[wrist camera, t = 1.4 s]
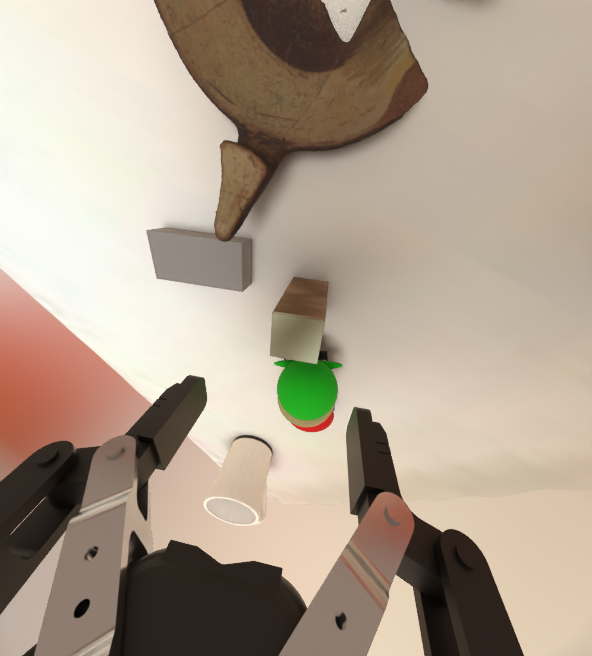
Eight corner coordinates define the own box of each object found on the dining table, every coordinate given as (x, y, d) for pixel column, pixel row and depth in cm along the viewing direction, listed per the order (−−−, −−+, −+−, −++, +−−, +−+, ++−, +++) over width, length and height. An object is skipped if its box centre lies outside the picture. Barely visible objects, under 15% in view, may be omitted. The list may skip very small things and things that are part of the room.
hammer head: (251, 239, 24) (241, 242, 21) (251, 283, 26) (242, 291, 24) (166, 227, 25) (146, 230, 22) (173, 271, 27) (156, 278, 25)
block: (328, 282, 25) (324, 321, 16) (322, 313, 27) (317, 364, 18) (293, 277, 25) (272, 313, 17) (290, 308, 27) (270, 355, 18)
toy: (340, 385, 36) (343, 345, 24) (340, 439, 32) (345, 424, 20) (290, 383, 38) (267, 344, 25) (284, 434, 34) (254, 417, 21)
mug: (222, 443, 43) (193, 504, 35) (250, 427, 40) (225, 491, 31) (261, 471, 46) (244, 534, 37) (291, 459, 42) (280, 526, 34)
